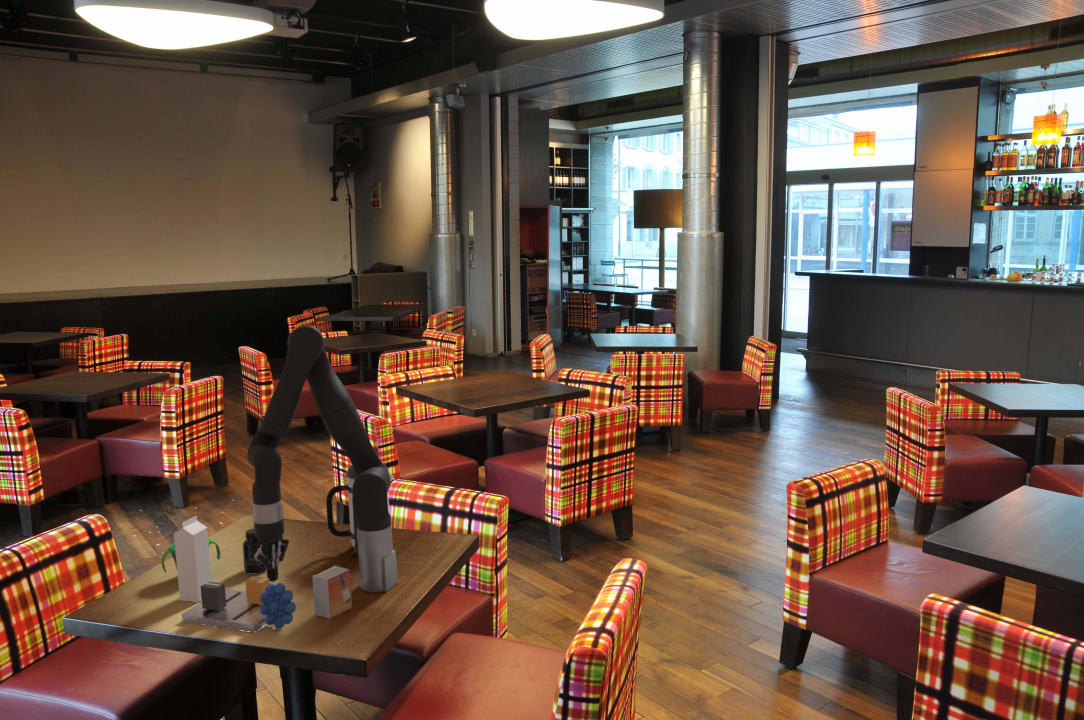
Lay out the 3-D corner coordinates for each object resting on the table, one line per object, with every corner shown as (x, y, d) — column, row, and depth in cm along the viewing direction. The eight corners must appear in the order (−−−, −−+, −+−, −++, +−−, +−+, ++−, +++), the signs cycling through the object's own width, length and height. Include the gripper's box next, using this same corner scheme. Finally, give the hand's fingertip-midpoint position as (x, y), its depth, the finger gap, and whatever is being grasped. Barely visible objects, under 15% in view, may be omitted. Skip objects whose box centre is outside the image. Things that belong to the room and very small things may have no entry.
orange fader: (270, 600, 214) (268, 577, 213) (263, 605, 212) (261, 582, 211) (254, 597, 216) (252, 575, 215) (247, 602, 213) (245, 580, 212)
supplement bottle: (253, 576, 236) (250, 536, 234) (239, 571, 240) (236, 531, 238) (274, 568, 241) (271, 529, 239) (260, 563, 245) (257, 525, 244)
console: (294, 605, 217) (293, 597, 216) (254, 633, 202) (253, 625, 201) (225, 595, 224) (224, 588, 223) (182, 621, 209) (181, 613, 208)
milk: (179, 601, 221) (171, 522, 218) (194, 591, 227) (186, 514, 224) (199, 602, 220) (191, 523, 216) (213, 593, 225) (206, 515, 222)
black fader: (226, 605, 212) (224, 582, 211) (218, 610, 209) (216, 587, 208) (210, 603, 213) (208, 580, 212) (202, 608, 211) (200, 585, 210)
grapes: (309, 626, 205) (306, 580, 203) (288, 637, 199) (286, 590, 197) (275, 616, 210) (272, 571, 209) (254, 627, 204) (251, 581, 203)
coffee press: (370, 535, 266) (365, 445, 262) (405, 545, 257) (401, 452, 252) (327, 553, 252) (321, 458, 248) (363, 564, 243) (357, 465, 239)
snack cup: (165, 589, 229) (161, 554, 227) (161, 576, 238) (158, 542, 236) (224, 577, 236) (221, 543, 235) (219, 564, 245) (216, 532, 244)
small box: (329, 619, 208) (327, 580, 206) (314, 615, 211) (311, 575, 209) (352, 607, 215) (350, 569, 213) (337, 602, 217) (334, 564, 216)
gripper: (264, 527, 209) (269, 592, 212) (295, 511, 222) (300, 572, 224) (239, 524, 212) (244, 588, 214) (272, 508, 224) (277, 569, 227)
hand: (273, 580), depth 219 cm, fingers closed
